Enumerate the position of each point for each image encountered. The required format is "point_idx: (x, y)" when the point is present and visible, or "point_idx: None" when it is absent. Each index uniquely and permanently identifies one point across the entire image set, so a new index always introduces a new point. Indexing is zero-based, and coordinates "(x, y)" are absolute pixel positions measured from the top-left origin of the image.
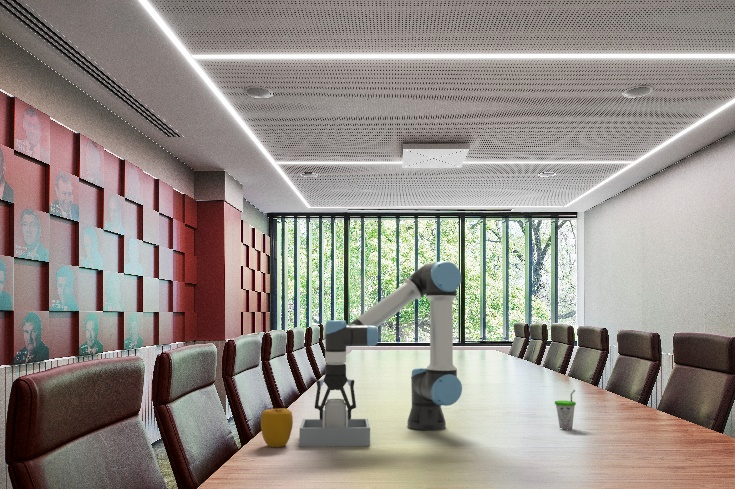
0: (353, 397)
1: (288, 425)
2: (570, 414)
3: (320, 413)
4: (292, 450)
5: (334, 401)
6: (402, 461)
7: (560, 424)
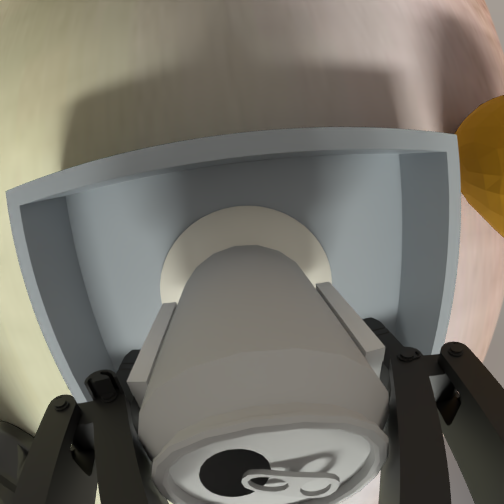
0: (33, 474)
1: (502, 111)
2: None
3: (391, 340)
4: (407, 70)
5: (279, 414)
6: (6, 4)
7: None
